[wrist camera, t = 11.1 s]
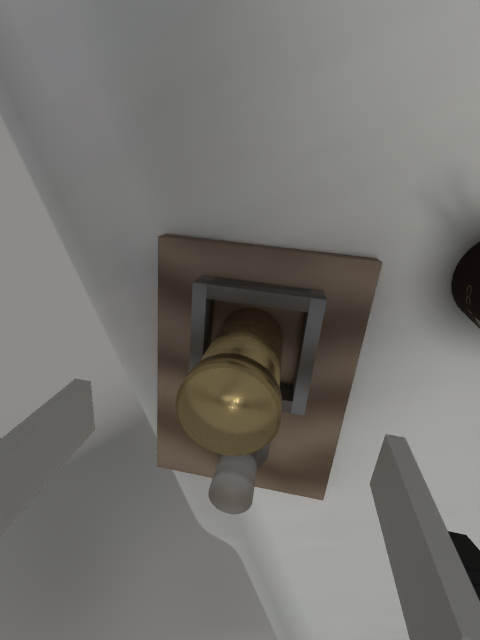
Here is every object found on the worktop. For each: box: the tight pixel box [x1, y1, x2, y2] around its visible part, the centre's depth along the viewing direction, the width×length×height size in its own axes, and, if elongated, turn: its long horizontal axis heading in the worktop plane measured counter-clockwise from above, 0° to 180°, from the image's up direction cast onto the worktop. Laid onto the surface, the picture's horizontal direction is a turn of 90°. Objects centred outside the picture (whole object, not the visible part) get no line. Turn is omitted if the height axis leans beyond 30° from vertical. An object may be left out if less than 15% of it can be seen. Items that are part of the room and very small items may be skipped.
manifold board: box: [157, 234, 382, 514], centre depth 24 cm, size 22×16×8 cm
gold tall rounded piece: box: [176, 307, 283, 456], centre depth 21 cm, size 5×5×10 cm
